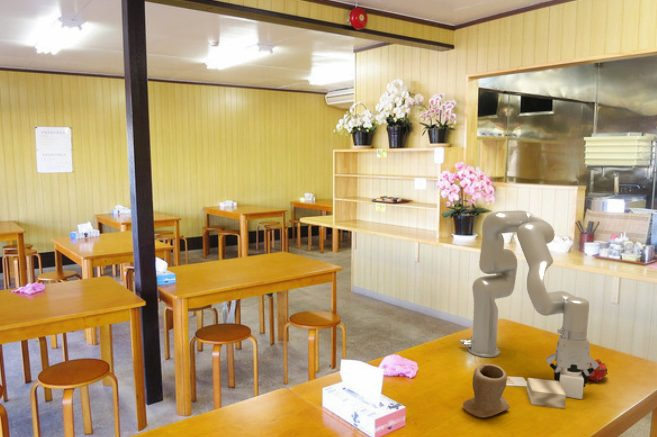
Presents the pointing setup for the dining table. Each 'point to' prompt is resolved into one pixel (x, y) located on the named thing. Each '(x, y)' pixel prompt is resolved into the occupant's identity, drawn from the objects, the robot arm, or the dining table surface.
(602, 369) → the dragon fruit
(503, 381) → the stone cup
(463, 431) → the dining table surface
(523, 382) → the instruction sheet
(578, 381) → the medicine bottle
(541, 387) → the base block
